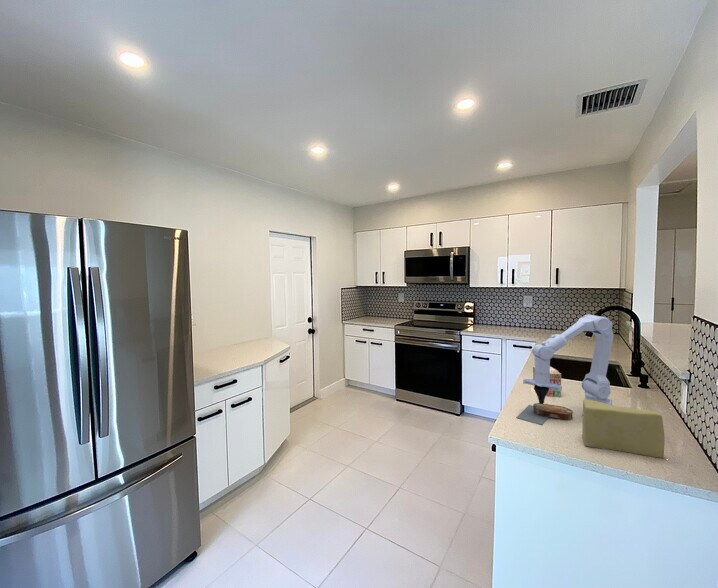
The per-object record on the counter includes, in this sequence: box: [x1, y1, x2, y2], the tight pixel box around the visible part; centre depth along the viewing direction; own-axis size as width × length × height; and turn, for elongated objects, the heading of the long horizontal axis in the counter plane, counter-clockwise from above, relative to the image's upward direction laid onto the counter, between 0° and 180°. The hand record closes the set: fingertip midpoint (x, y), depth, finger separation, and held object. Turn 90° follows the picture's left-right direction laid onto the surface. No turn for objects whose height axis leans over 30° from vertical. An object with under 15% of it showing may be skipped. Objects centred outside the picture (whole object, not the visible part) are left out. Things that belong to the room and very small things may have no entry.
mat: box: [516, 404, 549, 426], centre depth 140 cm, size 10×18×1 cm, turn 136°
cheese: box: [582, 398, 665, 459], centre depth 112 cm, size 22×10×15 cm, turn 58°
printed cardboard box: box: [532, 366, 562, 398], centre depth 170 cm, size 21×6×12 cm, turn 169°
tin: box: [532, 402, 574, 421], centre depth 139 cm, size 15×3×8 cm
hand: (541, 403), depth 138 cm, fingers closed
